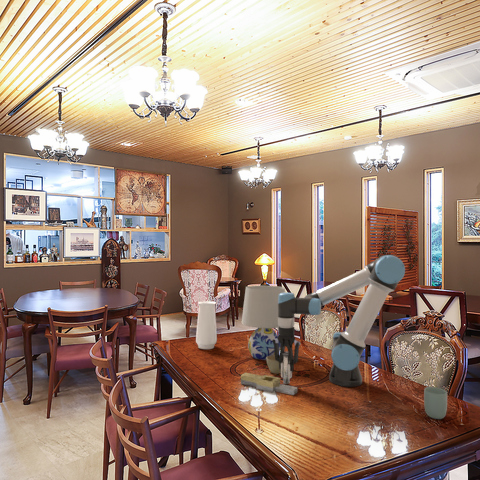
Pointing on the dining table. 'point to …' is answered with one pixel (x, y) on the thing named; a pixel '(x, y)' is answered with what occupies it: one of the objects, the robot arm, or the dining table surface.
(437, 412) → the cup
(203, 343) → the vase
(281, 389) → the bar with brass collar
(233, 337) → the dining table surface
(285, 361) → the pin
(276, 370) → the flower pot
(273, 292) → the table lamp
